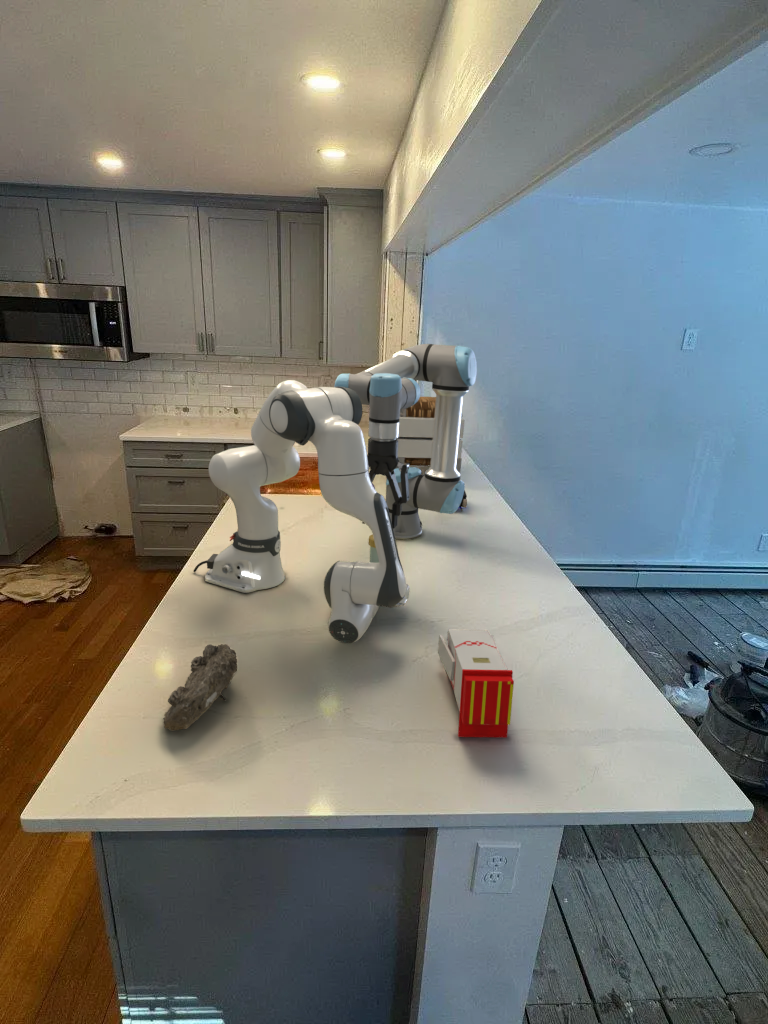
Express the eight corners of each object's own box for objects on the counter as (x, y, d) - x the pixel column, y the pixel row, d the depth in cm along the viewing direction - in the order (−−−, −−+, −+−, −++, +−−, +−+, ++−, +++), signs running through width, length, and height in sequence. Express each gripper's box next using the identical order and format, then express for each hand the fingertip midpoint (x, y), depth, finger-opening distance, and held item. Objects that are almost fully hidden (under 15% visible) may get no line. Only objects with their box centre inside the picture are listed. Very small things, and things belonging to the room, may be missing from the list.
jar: (381, 592, 158) (384, 534, 152) (387, 600, 154) (390, 541, 148) (365, 594, 157) (368, 536, 151) (371, 602, 153) (373, 543, 147)
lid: (385, 539, 153) (385, 532, 153) (392, 547, 148) (392, 540, 148) (365, 541, 151) (366, 534, 151) (372, 549, 147) (372, 542, 146)
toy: (488, 613, 130) (523, 677, 101) (484, 667, 133) (517, 744, 104) (435, 612, 130) (455, 676, 101) (432, 666, 133) (451, 743, 103)
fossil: (188, 646, 122) (238, 614, 117) (219, 675, 125) (269, 646, 120) (140, 724, 103) (196, 691, 98) (177, 757, 105) (234, 726, 100)
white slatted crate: (382, 463, 289) (386, 382, 275) (445, 464, 293) (451, 384, 279) (390, 482, 257) (394, 392, 243) (460, 483, 261) (468, 394, 247)
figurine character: (467, 516, 223) (461, 500, 237) (469, 499, 220) (463, 483, 233) (450, 516, 223) (446, 499, 236) (452, 498, 220) (447, 483, 233)
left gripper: (404, 595, 138) (415, 571, 150) (325, 582, 142) (342, 560, 155) (403, 618, 140) (414, 592, 152) (324, 604, 144) (342, 581, 157)
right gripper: (426, 439, 141) (420, 525, 149) (351, 431, 146) (349, 514, 154) (418, 445, 134) (412, 535, 142) (339, 436, 140) (338, 523, 148)
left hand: (377, 576), depth 154 cm, fingers open, 8 cm apart
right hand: (379, 524), depth 148 cm, fingers open, 7 cm apart
